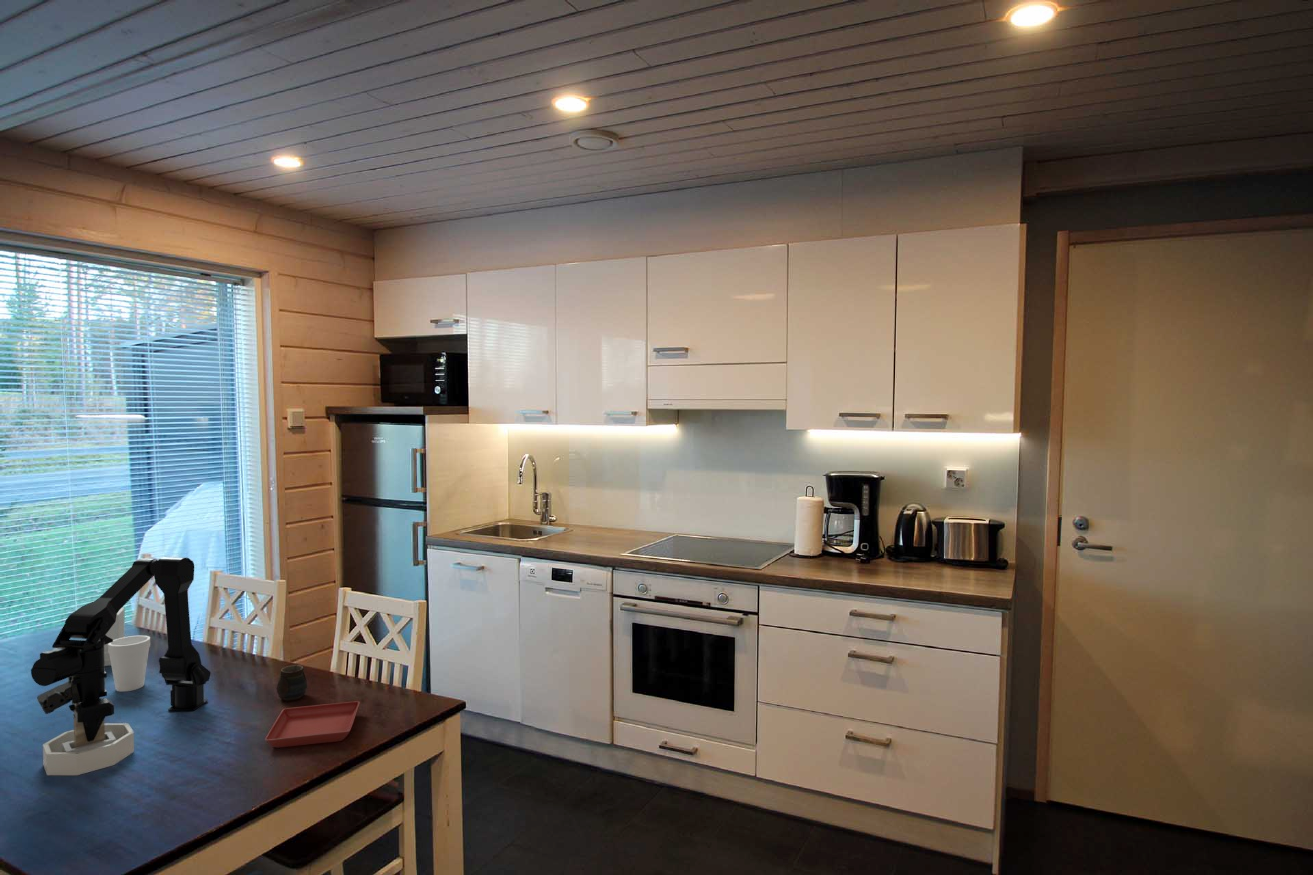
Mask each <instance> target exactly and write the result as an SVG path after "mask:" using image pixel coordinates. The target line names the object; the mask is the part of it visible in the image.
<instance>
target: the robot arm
mask: <svg viewBox="0 0 1313 875" xmlns="http://www.w3.org/2000/svg"><path fill="white" fill-rule="evenodd" d="M153 577H154V582H155V585H156V586H157V587H158V588H159V590H160V591H161V592H162V594H163V598H164V610H165V611H164V612H165V622H166V624H165V625H166V635H167V650H166V652H165V653H164V655H163V656H162V657H159V658H158V663H159V672H158V674H161V677H162V678H163V680H164V683H165V685H166V686H171V690H169V691H170V692H169V693H170V707H168V708H167V710H168V711H169V712H193V711H195V710H196V709H199V707H201V706H202V705H204V704H206V703H207V702H209V701H208V700H209V699H205V697H204V696H205V695H204V694H205V688H204V687H205V684H207V682H208V681H210V679H211V678H210V677H211V675H212V674H211V671H210V670H209V669H207V668H206V666H204V665H203V664H202V660H201V656H200V652H198V650H197V649H196V648H195V646H194V645H193V644H192V637H191V636H192V634H191V632H192V631H191V622H190V621H191V620H190V606H189V594H188V590H189V588H190V586H191V585H192V583H193V581H194V579H195V563H194V560H191V558H188V557H183V556H182V557H181V556H180V557H177V556H162V557H160V558H158V559H156V558H139V559H136V560H134V562H132V565H131V567H130V568H129V569H127V571H125V572H124V573H123V574H122V575H121V576H120V577H119V578H118V579H117V580H116V581H115V582H114V583H113V584H112V585H111V586H110V587H109V588H108V589H106V591H105V592H103V593H102V595H101V596H99V597H98V598H97V599H95V600H94V601H91V602H89V603H87V604H84V605H82V606H80V607H79V608H78V609H76V610H75V611H73V612H72V613H70V614H69V615H68V617H66V620H64V625H63V626H62V628H61V629H60V632H59V634H58V635H57V637H56V639H55V640H54V641H53V644H52V647H51V648H53V649H51V650H46V651H42V652H40V653H39V659H37V660H36V661H35V662H33V664H32V668H31V669H30V674H31V678H32V680H33V681H34V683H36V684H37V685H39V686H41V687H46V686H50V685H52V684H56V683H58V682H61V681H63V680H65V679H68V681H66V682H64V683H62V684H59V685H57V686H55V687H52V688H51V689H49V690H47V691H44V692H43V693H41V694H39V695H38V696H37V697H36V699H37V703H39V705H40V707H41V709H42V711H43V712H44V714H45V715H49V714H51V713H53V712H55V710H57V709H59V708H61V707H63V706H65V705H67V704H68V703H70V702H71V704H69V705H68V708H69V710H70V711H72V712H73V714H72V716H73V719H74V718H75V719H76V721H77V722H82V723H83V727H84V731H85V734H86V738H87V741H88V742H89V741H93V740H94V739H95V737H96V735H97V733H98V730H99V728H100V726H101V724H102V722H103V721H104V722H105V718H106V717H110V716H113V715H114V714H115V705H114V703H113V702H112V700H110V699H108V698H107V696H108V691H107V689H106V678H107V671H105V670H106V668H105V667H106V666H105V659H104V645H106V644H108V643H111V642H113V639H111V638H109V637H107V636H106V634H107V632H108V631H109V630H110V628H111V627H112V626H113V624H114V623H115V622H116V616H117V613H118V612H119V610H120V609H121V608H122V607H124V606H125V605H126V604H127V603H128V602H129V601H130V600H131V599H132V598H133V597H134V596H135V595H136V594H137V593H138V592H139V591H141V589H142V588H143V587H145V585H147V583H148V582H149V581H151V579H152V578H153ZM78 639H79V640H78ZM82 639H83V640H82ZM74 710H75V714H74Z"/></svg>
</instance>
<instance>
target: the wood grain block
mask: <svg viewBox="0 0 1313 875" xmlns="http://www.w3.org/2000/svg"><path fill="white" fill-rule="evenodd" d="M73 714H75V710H74V712H73ZM104 723H105V720H104V721H103V722H102V724H101V726H100V728H99V730H98V733H97V735H96V737H95V739H94V740H93V741H89V742H88V741H87V738H86V734H85V731H84V727H83V723H82V722H77V721H76V719H75V718H74V717H73V730H74V748H76V747H80V746H84V745H88V744H92V743H96V742H100V741H104V740H105V726H104Z"/></svg>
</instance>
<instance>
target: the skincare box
mask: <svg viewBox="0 0 1313 875" xmlns="http://www.w3.org/2000/svg"><path fill="white" fill-rule="evenodd" d="M125 614H126V612H125V607H124V606H123V607H122V608H121V609H120V610H119V612H118V613H117V616H116V622H115V623H114V624H113V626H112V627H111V628H110V630H109V631H108V632H107V634H106V636H107V637H109V638H111V639H113V640H115V639H119V638H123V637H126V636H125V635H126V632H125V627H126V626H125V620H126V619H125ZM104 659H105V667H107V666H111V661H110V655H109V653H108V644H106V645H104Z"/></svg>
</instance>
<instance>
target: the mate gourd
mask: <svg viewBox="0 0 1313 875" xmlns="http://www.w3.org/2000/svg"><path fill="white" fill-rule="evenodd" d="M304 669H305V668H304V666H303V665H300V664H294V665H293V664H292V665H287V666H284V667H282V668H281V669H280V676H279V680H278V682H277V684H276V693H277V695H278V697H279V698H280V699H281V700H283V701H287V702H290V701H291V702H292V701H295V700H298V699H301V698H302V697H303V696H304V695H305V694H306V690H307V688H308V681H307V677H306V676H305V672H304Z"/></svg>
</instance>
